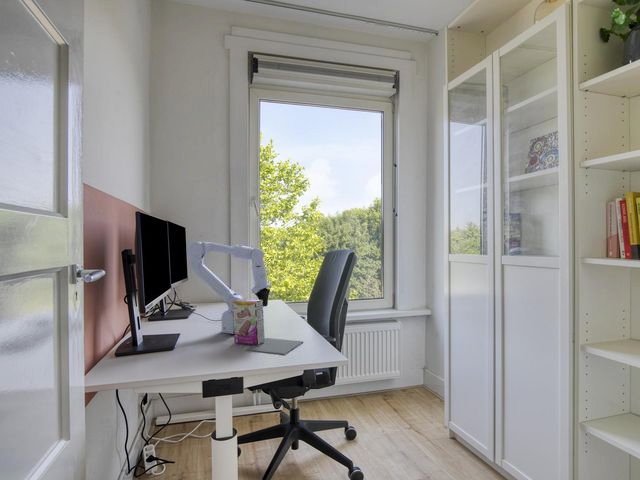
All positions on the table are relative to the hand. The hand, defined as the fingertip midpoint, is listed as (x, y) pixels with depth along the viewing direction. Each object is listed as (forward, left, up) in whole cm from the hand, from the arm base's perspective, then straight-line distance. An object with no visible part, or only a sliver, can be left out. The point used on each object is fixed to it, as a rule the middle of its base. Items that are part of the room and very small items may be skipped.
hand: (264, 306), depth 164 cm
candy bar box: (+4, -20, -11) cm, 23 cm away
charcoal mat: (+15, -20, -11) cm, 27 cm away
